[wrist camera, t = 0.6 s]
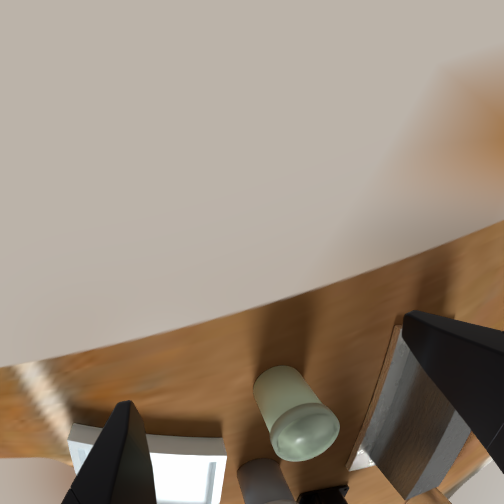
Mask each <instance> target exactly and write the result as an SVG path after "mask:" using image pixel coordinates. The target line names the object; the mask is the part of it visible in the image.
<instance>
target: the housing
mask: <svg viewBox="0 0 504 504" xmlns="http://www.w3.org/2000/svg"><path fill="white" fill-rule="evenodd" d="M470 432H471V429H470V428H469V426H468V425H467V424H466V423H465V421H464V420H463V419H462V417H461V416H460V415H459V414H458V412H457V411H456V410H455V409H454V407H453V406H452V405H451V403H450V402H449V401H448V400H447V398H446V397H445V396H444V395H443V393H442V392H441V391H440V390H439V389H438V387H437V386H436V385H435V384H434V382H433V381H432V380H431V379H430V377H429V376H428V375H427V374H426V372H425V371H424V370H423V368H422V367H421V366H420V364H419V362H418V361H417V359H416V358H415V356H414V355H413V353H412V352H411V350H410V349H409V347H408V346H407V344H406V343H405V342H404V340H403V338H402V325H395V326H394V329H393V333H392V337H391V340H390V344H389V347H388V351H387V354H386V358H385V361H384V364H383V368H382V371H381V374H380V377H379V380H378V383H377V386H376V389H375V392H374V395H373V398H372V401H371V404H370V406H369V409H368V412H367V414H366V417H365V420H364V422H363V425H362V428H361V430H360V433H359V435H358V438H357V440H356V443H355V445H354V447H353V450H352V452H351V454H350V457H349V459H348V461H347V463H346V466H345V467H346V468H347V469H348V471H353V470H358V469H362V468H366V467H370V466H374V465H376V466H377V467H378V468H379V469H380V471H381V472H382V473H383V474H384V476H385V477H386V478H387V479H388V480H389V482H390V483H391V484H392V485H393V487H394V488H395V489H396V490H397V491H398V493H399V494H400V495H401V496H402V497H403V499H404V500H408V499H410V498H412V497H415V496H417V495H420V494H422V493H424V492H427V491H429V490H431V489H433V488H435V487H438V486H439V485H440V483H441V482H442V480H443V479H444V477H445V476H446V474H447V472H448V471H449V469H450V468H451V466H452V464H453V463H454V461H455V459H456V457H457V456H458V454H459V452H460V450H461V449H462V447H463V445H464V443H465V441H466V440H467V438H468V436H469V434H470Z"/></svg>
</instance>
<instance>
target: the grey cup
mask: <svg viewBox="0 0 504 504" xmlns="http://www.w3.org/2000/svg"><path fill="white" fill-rule="evenodd" d="M237 478H238V481H239V485H240V488H241V491H242V495H243V498H244V502H245V504H298V503H297V502H296V501H295V500H294V498H293V496H292V493H291V491H290V489H289V487H288V485H287V483H286V480H285V478H284V476H283V474H282V471H281V469H280V467H279V465H278V463H277V462H276V461H274V460H272V459H267V458H261V459H255V460H252V461H249V462H247V463H245V464H244V465H243V466H241V467H240V469H239V470H238V472H237Z"/></svg>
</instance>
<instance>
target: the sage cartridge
mask: <svg viewBox="0 0 504 504" xmlns="http://www.w3.org/2000/svg"><path fill="white" fill-rule="evenodd" d="M253 395H254V398H255V400H256V402H257V405H258V407H259V409H260V412H261V414H262V416H263V419H264V421H265V423H266V425H267V428H268V430H269V432H270V441H271V444H272V446H273V448H274V450H275V453H276V454H277V455H278V456H279V457H280V458H282V459H284V460H287V461H304V460H308V459H311V458H313V457H316V456H318V455H319V454H321V453H323V452H324V451H325V450H327V449H328V448H329V447H330V446H331V445H332V444H333V442H334V441H335V439H336V438H337V436H338V433H339V428H340V426H339V421H338V419H337V418H336V416H335V415H334V414H333V412H332V411H331V410H330V409H329V408H328V407H327V406H325V405H323V404H322V403H321V401H320V400H319V399H318V397H317V396H316V395H315V393H314V392H313V390H312V389H311V388H310V386H309V385H308V384H307V382H306V381H305V380H304V378H303V377H302V376H301V374H300V373H299V372H298V371H297V370H296V369H295V368H293V367H290V366H276V367H272V368H270V369H268V370H266V371H265V372H263V373H262V374H261V375H260V376H259V377H258V378H257V380H256V382H255V384H254V387H253Z"/></svg>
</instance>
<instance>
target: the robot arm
mask: <svg viewBox="0 0 504 504" xmlns="http://www.w3.org/2000/svg"><path fill="white" fill-rule="evenodd" d="M402 338H403V340H404V342H405V343H406V344H407V346H408V347H409V349H410V350H411V352H412V353H413V355H414V356H415V358H416V359H417V361H418V362H419V364H420V366H421V367H422V368H423V370H424V371H425V372H426V374H427V375H428V376H429V377H430V379H431V380H432V381H433V382H434V384H435V385H436V386H437V387H438V389H439V390H440V391H441V392H442V393H443V395H444V396H445V397H446V398H447V400H448V401H449V402H450V403H451V405H452V406H453V407H454V409H455V410H456V411H457V412H458V414H459V415H460V416H461V417H462V419H463V420H464V421H465V423H466V424H467V425H468V426H469V428H470V429H471V430H472V432H473V433H474V434H475V436H476V437H477V438H478V440H479V441H480V442H481V444H482V445H483V446H484V448H485V449H487V452H488V453H489V455H490V456H491V457H492V459H493V460H494V461H495V463H496V464H497V466H498V467H499V468H500V470H501V471H502V472H503V474H504V331H501V330H496V329H492V328H488V327H483V326H479V325H475V324H471V323H467V322H462V321H458V320H454V319H450V318H446V317H442V316H438V315H433V314H429V313H425V312H421V311H417V310H413V311H411V312H408V313H406V314H405V315H404V318H403V325H402ZM348 490H349V487H348V485H344V486H339V487H334V488H330V489H324V490H319V491H314V492H308V493H303V494H301V495H300V496H299V499H298V501H297V503H298V504H348V503H347V501H346V500H345V498H344V497H345V495H346V494H347V492H348ZM61 504H157V500H156V492H155V483H154V474H153V466H152V461H151V457H150V452H149V447H148V443H147V438H146V433H145V427H144V423H143V420H142V417H141V415H140V414H139V412H138V410H137V409H136V407H135V405H134V403H133V402H132V401H130V400H128V401H122V402H119V403H117V405H116V407H115V408H114V410H113V412H112V413H111V415H110V417H109V419H108V420H107V422H106V424H105V426H104V427H103V429H102V431H101V433H100V434H99V436H98V438H97V440H96V441H95V443H94V445H93V447H92V448H91V450H90V452H89V454H88V456H87V457H86V459H85V461H84V463H83V465H82V466H81V468H80V470H79V472H78V474H77V475H76V478H75V479H74V481H73V483H72V485H71V489H69V490H68V492H67V494H66V496H65V497H64V499H63V501H62V503H61Z"/></svg>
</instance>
